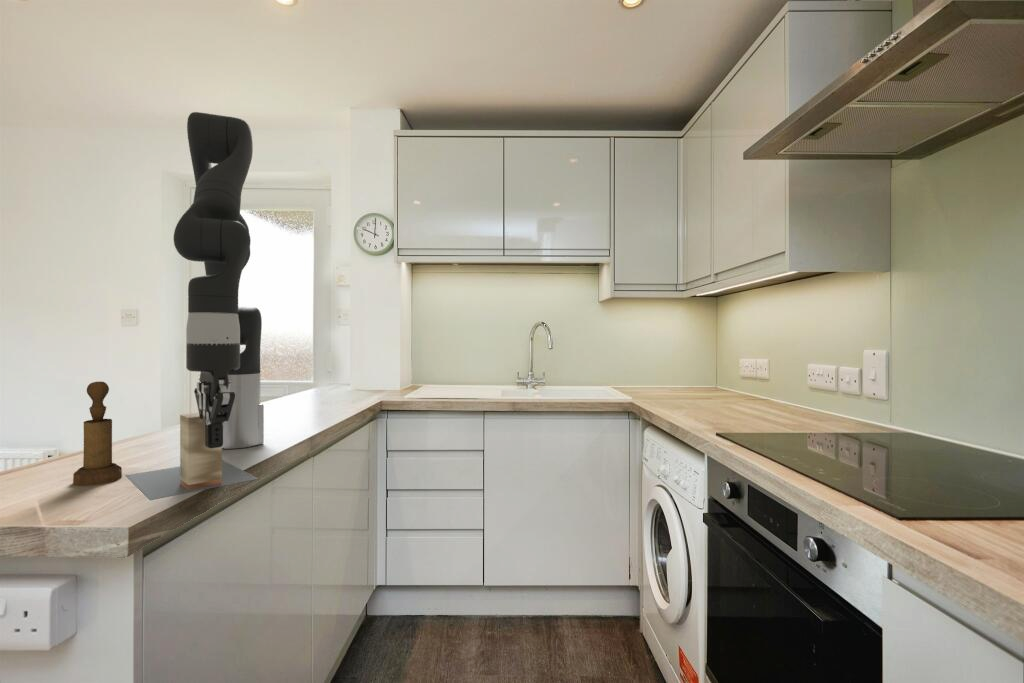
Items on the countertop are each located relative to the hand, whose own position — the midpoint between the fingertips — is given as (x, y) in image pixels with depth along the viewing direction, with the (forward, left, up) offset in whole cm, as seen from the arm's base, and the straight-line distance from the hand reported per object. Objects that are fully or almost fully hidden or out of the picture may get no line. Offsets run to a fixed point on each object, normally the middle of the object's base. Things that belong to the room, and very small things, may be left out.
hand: (214, 446), depth 81 cm
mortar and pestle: (+12, -22, -8) cm, 27 cm away
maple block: (0, -7, -7) cm, 10 cm away
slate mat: (0, -13, -8) cm, 15 cm away
